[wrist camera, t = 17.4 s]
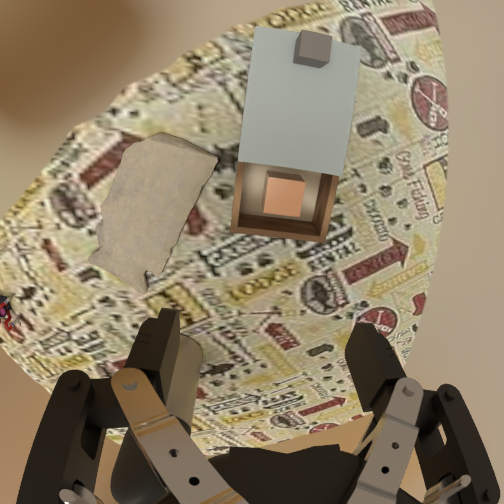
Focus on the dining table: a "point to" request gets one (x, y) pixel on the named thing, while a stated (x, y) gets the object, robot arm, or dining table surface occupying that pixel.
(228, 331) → the dining table surface
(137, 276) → the stone tool
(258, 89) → the lid
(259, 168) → the brown wooden box
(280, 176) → the cube
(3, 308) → the figurine
